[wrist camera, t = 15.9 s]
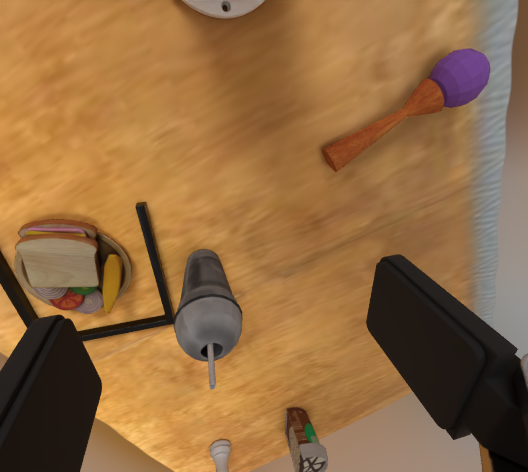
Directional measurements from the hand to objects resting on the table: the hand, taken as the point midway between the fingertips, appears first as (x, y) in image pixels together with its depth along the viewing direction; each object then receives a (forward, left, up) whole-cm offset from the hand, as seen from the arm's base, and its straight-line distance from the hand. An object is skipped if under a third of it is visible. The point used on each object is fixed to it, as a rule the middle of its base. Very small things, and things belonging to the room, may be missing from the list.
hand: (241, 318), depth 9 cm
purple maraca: (-2, +24, -28) cm, 37 cm away
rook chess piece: (+63, -5, -28) cm, 69 cm away
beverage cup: (+16, -2, -28) cm, 33 cm away
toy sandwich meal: (+13, -17, -28) cm, 36 cm away
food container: (+61, +13, -28) cm, 69 cm away
